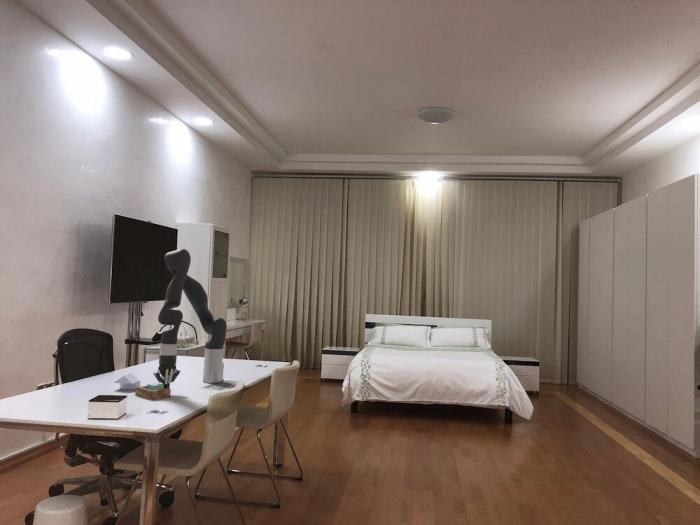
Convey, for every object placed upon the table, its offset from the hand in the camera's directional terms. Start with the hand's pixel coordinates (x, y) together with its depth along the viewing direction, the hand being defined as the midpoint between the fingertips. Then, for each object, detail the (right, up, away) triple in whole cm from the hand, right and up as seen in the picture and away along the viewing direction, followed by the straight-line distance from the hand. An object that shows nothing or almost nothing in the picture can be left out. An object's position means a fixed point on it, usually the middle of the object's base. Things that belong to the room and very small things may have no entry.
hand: (165, 391), depth 253 cm
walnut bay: (-4, -1, -4) cm, 6 cm away
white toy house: (-21, -1, +9) cm, 23 cm away
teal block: (-4, -1, -4) cm, 5 cm away
